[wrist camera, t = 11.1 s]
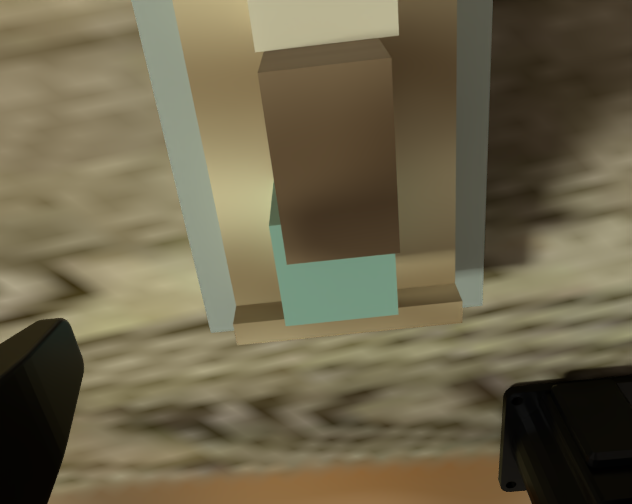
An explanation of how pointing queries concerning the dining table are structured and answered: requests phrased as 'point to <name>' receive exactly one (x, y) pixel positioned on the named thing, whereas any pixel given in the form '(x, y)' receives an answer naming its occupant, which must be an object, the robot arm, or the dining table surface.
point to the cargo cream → (319, 22)
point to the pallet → (255, 176)
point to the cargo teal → (332, 284)
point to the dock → (194, 179)
